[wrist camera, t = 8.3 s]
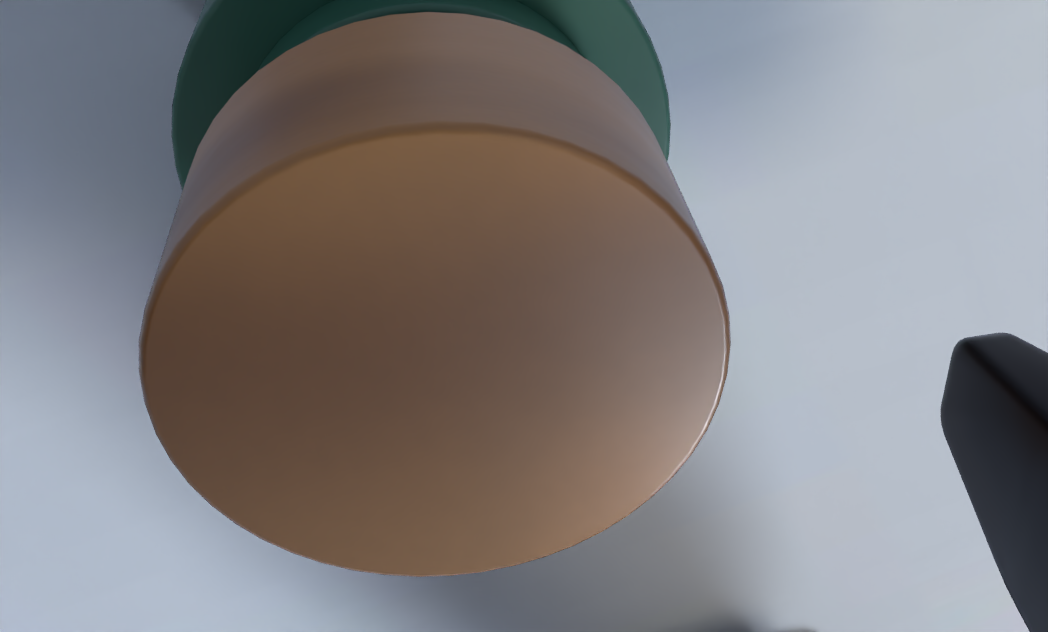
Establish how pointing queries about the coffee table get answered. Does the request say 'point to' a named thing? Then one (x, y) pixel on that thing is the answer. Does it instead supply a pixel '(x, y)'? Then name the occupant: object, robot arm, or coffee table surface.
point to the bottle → (328, 3)
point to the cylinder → (431, 302)
